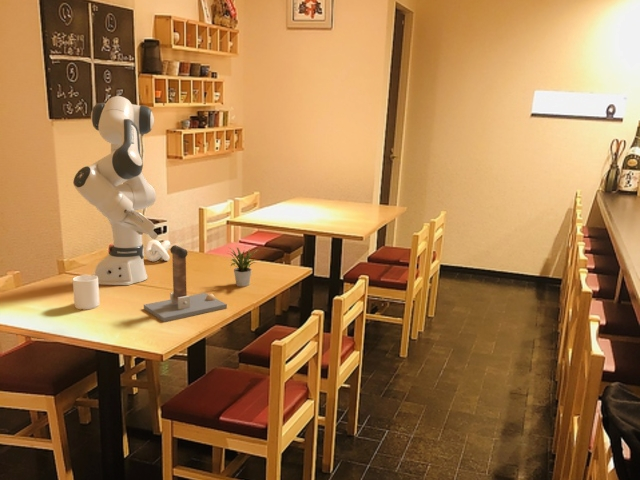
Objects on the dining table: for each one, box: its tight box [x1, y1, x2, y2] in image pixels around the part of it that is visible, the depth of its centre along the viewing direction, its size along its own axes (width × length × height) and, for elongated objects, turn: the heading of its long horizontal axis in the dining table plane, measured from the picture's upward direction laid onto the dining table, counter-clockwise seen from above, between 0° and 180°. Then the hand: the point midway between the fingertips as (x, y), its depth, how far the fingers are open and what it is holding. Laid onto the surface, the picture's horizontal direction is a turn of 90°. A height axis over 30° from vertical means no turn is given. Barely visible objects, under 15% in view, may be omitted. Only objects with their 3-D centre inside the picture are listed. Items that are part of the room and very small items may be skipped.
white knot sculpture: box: [144, 239, 171, 263], centre depth 274 cm, size 11×12×9 cm
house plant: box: [225, 245, 260, 287], centre depth 239 cm, size 14×14×16 cm
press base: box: [143, 292, 228, 323], centre depth 211 cm, size 24×16×6 cm, turn 129°
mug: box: [72, 274, 100, 311], centre depth 212 cm, size 12×8×10 cm
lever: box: [169, 244, 188, 302], centre depth 207 cm, size 3×6×19 cm, turn 39°
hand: (148, 235), depth 197 cm, fingers open, 8 cm apart
